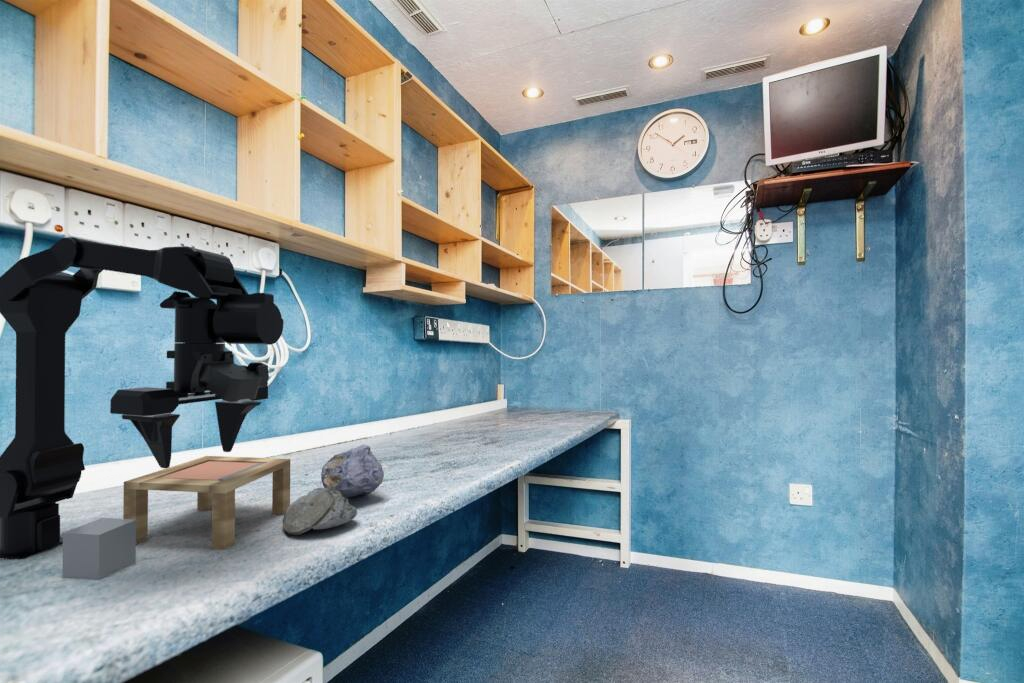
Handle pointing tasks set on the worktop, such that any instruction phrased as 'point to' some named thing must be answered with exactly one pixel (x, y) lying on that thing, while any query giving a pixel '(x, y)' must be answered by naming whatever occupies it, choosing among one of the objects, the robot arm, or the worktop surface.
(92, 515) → the worktop surface
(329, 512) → the fossilized seashell
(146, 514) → the trapdoor frame
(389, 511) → the worktop surface
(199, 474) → the trapdoor
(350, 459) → the rock
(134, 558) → the grey block
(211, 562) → the worktop surface
